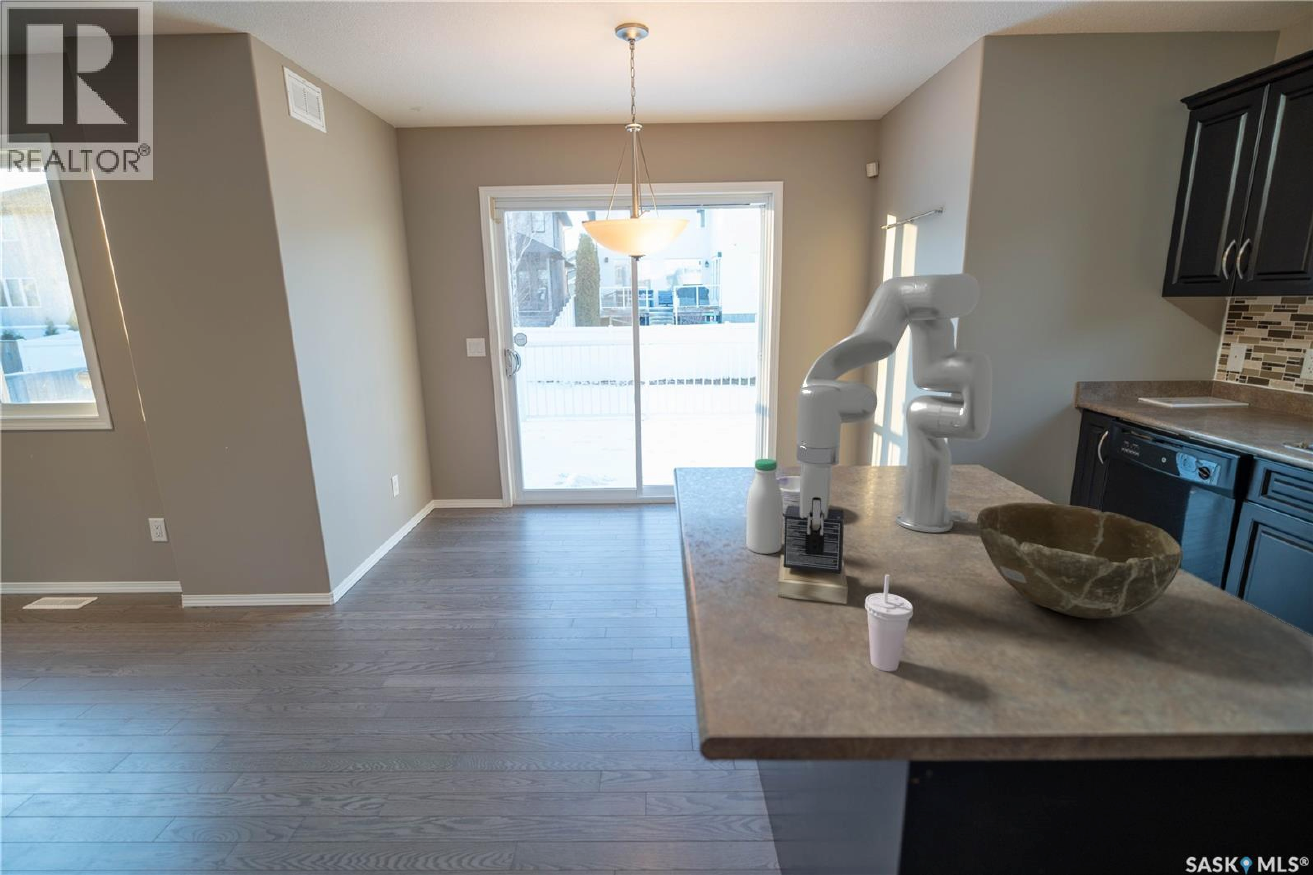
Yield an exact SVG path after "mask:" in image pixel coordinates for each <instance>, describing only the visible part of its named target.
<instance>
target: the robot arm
mask: <svg viewBox="0 0 1313 875" xmlns="http://www.w3.org/2000/svg"><path fill="white" fill-rule="evenodd" d="M979 299H980V286H979V283H978V280H977V279H976V277H974V276H973V275H972V274H971V273H970V274H969V273H967V272H966V273H951V274H941V273H939V274H923V275H922V274H921V275H908V276H898V277H892V278H889V279H886V280H885V281H883V282H882V283H881V284H880V285H879V286H878V287H877V289H876V291H875V292H874V294H873V296H872V298H871V299H870V301H869V304H868V305H867V307H866V309H865V311H864V313H863V314H862V317H861V318H860V320H859V322H858V324H857V325H856V328H855V330H854V331H853V332H852V333H850V334H849V335H848V336H846V337H844V338H842V339H841V340H839V341H838V342H837V343H835V344H833V345H832V346H830V348H828V349H827V350H826V351H825V352H823V353H821V355H820V356H818V358H817V359H816V360H815V361H814V362H813V364H812V365H811V367H810V368H809V370H808V372H807V374H806V376H805V377H804V380H803V382H802V384H801V386H800V389H799V392H798V393H797V422H796V453H795V462H796V463H797V464H799V465H801V466H800V476H801V477H800V517H801V518H802V519H803V517H805V518H807V516H808V518H807V520H808V523H807V533H806V539H805V554H808V555H820V556H822V555H823V552H824V534H823V520H825V519H827V517H828V509H830V498H831V488H832V487H831V485H832V470H833V467H834V466H838V465H839V463H840V449H841V448H840V447H841V446H840V445H841V426H842V424H859V423H863V422H865V421H867V420H868V419H870V418H871V417H872V416H873V415H874V413H875V412H876V410H877V407H878V397H877V393H876V390H874V389H873V387H871V386H870V385H869V384H867V383H864V382H859V381H849V380H848V381H846V380H838V379H839V378H840V377H841V376H843V375H844V374H847V373H849V372H850V371H852V370H856V369H859V368H861V367H866V366H868V365H872V364H875V363H877V362H879V361H883V360H885V359H887V358H889V357H890V356H892V355H893V354H894V353H895V351H896V350H897V349H898V348H897V347H898V345H899V343H900V342H901V339H902V338H903V336H904V333H905V332H906V330H907V328H908V327H909V329H910V332H911V343H912V344H911V346H912V348H911V349H912V352H911V353H912V354H911V356H912V358H911V360H912V379H913V380H912V381H913V385H915V387H916V388H918V389H919V390H922V391H927V392H935V393H948V394H956V395H961V397H955V396H949V395H948V396H947V395H936V394H935V395H934V394H927V395H926V394H925V395H919V396H916V397H914V398H913V399H911V400H910V401H909V403H908V405H907V406H906V411H905V420H906V421H905V422H906V429H907V456H906V468H905V480H904V483H905V484H904V491H903V494H904V495H903V505H902V511H901V512H898V513H897V514H896V515H895V522H896V523H897V524H898V525H900V526H901V527H904V528H906V529H909V530H911V531H912V530H913V531H916V532H923V533H934V534H935V533H945V532H948V531H950V530H952V528H953V522H954V521H960V522H961V521H962V522H969V519H970V518H969V513H968V512H961V511H960V510H959V509H953V510H952V509H950V508H949V507H948V498H949V489H950V478H951V470H952V469H951V467H952V451H951V450H950V447H949V445H948V443H947V441H946V440H945V439H952V440H960V441H963V442H964V441H965V442H966V441H967V442H978V441H981V440H983V439H984V438H985V437H986V436H988V435H987V434H988V433H989V431H990V427H991V420H992V402H993V399H992V397H993V395H992V394H993V366H992V362H991V358H990V357H989V356H988V354H986V353H984V352H982V351H977V350H958V349H957V348H956V346H955V327H954V324H953V322H952V320H951V319H955V318H956V319H957V318H963V317H965V316H967V315H969V314H970V313H972V311H974V309H975V308H976V306H977V304H978V302H979ZM810 514H813V517H810ZM820 515H821V517H820ZM811 521H812V523H811ZM810 524H811V525H810Z"/></svg>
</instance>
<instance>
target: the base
mask: <svg viewBox="0 0 1313 875" xmlns="http://www.w3.org/2000/svg"><path fill="white" fill-rule="evenodd" d="M779 559H780V560H779V570H778V580H777V585H778V586H777V597H778V598H779V597H780V598H785V599H787V598H789V599H795V600H796V599H797V600H798V599H799V600H804V601H805V600H806V601H815V602H827V603H834V604H845V605H847V604H848V590H849V588H848V581H847V576H846V569H845V564H844V560H843V559H842V573H841V574H837V573H829V572H820V571H811V570H803V569H794V568H785V567H783V563H784V554H780V558H779Z"/></svg>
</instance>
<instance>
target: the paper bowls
mask: <svg viewBox="0 0 1313 875" xmlns="http://www.w3.org/2000/svg"><path fill="white" fill-rule="evenodd" d="M800 477H801V475H800V476H799V475H798V476H797V475H795V476H793V475H791V476H781V477H776V480H777V483H778V485H779V487H780V490H781V493H782V499H783V515H785V512H786V509H787V507H788V506H800Z"/></svg>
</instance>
